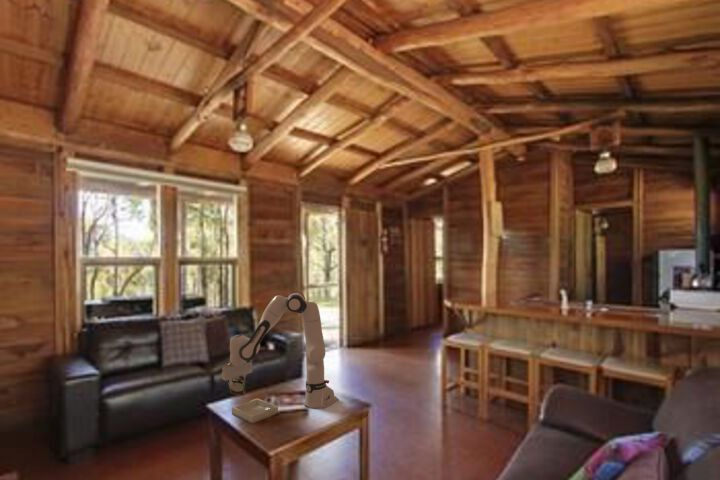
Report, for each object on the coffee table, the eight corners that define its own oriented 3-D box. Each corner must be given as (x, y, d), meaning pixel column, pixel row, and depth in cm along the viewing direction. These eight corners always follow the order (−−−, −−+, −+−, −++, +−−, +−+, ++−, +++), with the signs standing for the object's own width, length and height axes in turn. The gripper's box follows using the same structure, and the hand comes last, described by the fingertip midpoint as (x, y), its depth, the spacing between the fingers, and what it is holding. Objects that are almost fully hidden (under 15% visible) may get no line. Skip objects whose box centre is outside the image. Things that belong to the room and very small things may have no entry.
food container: (251, 389, 259) (248, 376, 256) (246, 396, 253) (243, 382, 250) (234, 387, 263) (232, 373, 260) (229, 393, 257) (226, 379, 254)
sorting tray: (257, 404, 257) (257, 398, 257) (277, 413, 244) (277, 406, 244) (231, 414, 243) (231, 407, 243) (252, 423, 230) (252, 416, 230)
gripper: (225, 366, 245) (225, 389, 245) (254, 358, 261) (254, 380, 261) (219, 364, 249) (219, 387, 249) (248, 356, 265) (248, 378, 265)
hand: (237, 383), depth 255 cm, fingers closed on food container, 6 cm apart
